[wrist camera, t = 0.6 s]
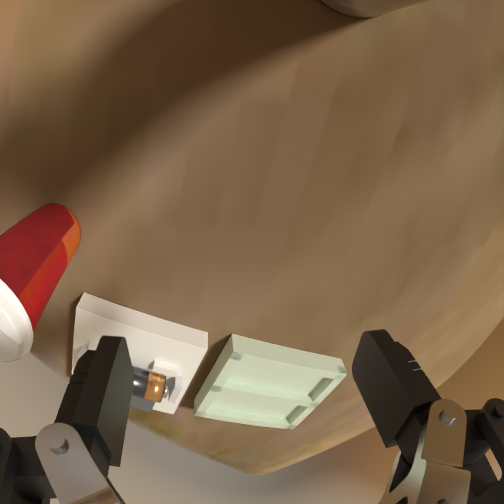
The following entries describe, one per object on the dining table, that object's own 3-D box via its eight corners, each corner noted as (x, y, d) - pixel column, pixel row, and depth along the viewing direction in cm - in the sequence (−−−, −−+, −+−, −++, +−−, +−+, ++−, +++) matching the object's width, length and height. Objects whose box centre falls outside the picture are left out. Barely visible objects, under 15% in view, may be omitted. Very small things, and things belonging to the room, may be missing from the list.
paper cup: (14, 211, 24) (-73, 291, 12) (67, 178, 24) (-28, 257, 12) (50, 274, 28) (-11, 373, 16) (105, 251, 28) (48, 362, 15)
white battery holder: (84, 292, 29) (70, 318, 26) (207, 332, 33) (207, 361, 30) (76, 369, 35) (68, 394, 31) (174, 399, 39) (172, 425, 35)
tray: (231, 333, 34) (233, 351, 31) (341, 358, 38) (347, 374, 36) (194, 399, 39) (193, 415, 37) (289, 414, 43) (292, 429, 41)
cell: (98, 349, 31) (92, 366, 28) (171, 371, 33) (171, 390, 30) (94, 370, 31) (88, 387, 28) (164, 391, 34) (163, 409, 31)
